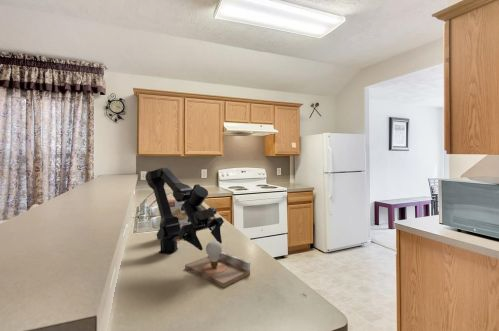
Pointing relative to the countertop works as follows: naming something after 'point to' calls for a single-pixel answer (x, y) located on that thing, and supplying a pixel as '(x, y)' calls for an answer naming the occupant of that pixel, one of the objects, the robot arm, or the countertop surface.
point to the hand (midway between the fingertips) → (211, 246)
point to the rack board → (221, 269)
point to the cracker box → (178, 212)
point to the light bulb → (214, 252)
